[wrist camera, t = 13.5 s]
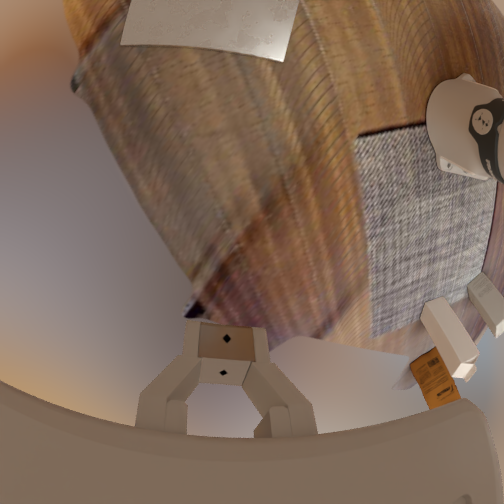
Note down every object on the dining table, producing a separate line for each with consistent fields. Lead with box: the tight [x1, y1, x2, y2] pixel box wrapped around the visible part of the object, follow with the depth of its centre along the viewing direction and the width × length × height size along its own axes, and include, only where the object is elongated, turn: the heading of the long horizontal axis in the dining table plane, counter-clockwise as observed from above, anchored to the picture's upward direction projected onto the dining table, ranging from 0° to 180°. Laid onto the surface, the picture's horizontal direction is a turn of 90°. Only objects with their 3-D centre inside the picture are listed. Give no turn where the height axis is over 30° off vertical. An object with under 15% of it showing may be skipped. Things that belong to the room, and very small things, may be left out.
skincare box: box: [467, 272, 504, 338], centre depth 48 cm, size 8×7×16 cm
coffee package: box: [410, 347, 461, 410], centre depth 63 cm, size 10×12×22 cm
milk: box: [420, 296, 480, 382], centre depth 48 cm, size 6×6×22 cm
